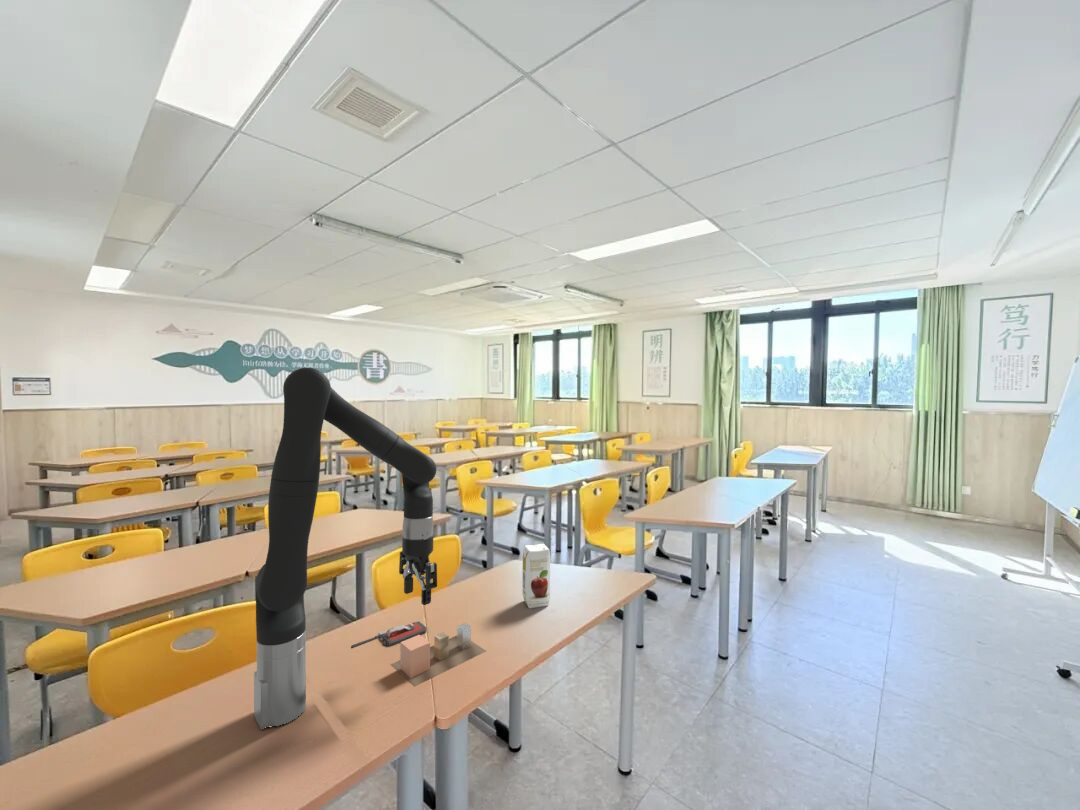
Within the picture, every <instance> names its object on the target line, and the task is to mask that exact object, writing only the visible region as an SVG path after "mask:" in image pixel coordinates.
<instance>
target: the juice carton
mask: <svg viewBox="0 0 1080 810" xmlns="http://www.w3.org/2000/svg"><path fill="white" fill-rule="evenodd" d="M521 583H522V589H521V590H522V591H521V592H522V596H523V597H522V598H523V601H524V603H525V604H526V606H527V607H528V609H534V608H535V609H536V608H541V607H542V608H543V607H549V605H550V600H551V553H550V548H549V547H548V546H546V544H544V543H539V544H538V543H537V544H532V545H531V544H529V545H526V544H525V545H524V547H523V552H522V581H521Z"/></svg>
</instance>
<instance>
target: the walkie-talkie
mask: <svg viewBox="0 0 1080 810" xmlns="http://www.w3.org/2000/svg"><path fill="white" fill-rule="evenodd" d="M427 630H428V629H427V626H425V625H424V624H423V623H422V622H421V621H414V622H409V624H406V625H403V624H402V625H398V626H395V627H391V628H388V629H386V630H383V631H379V632H378V635H375V636H374V637H371V638H368V639H365V640H362V641H360V642H357V643H355V644H352V645H351V646H350V649H354V648H356V647H360V646H362V645H365V644H367V643H370V642H373V641H375V640H378V639H379V640H380V642H382V645H384V647H387V646H388V647H393V646H396V645H398V644H400V642H402V641H405V640H407V639H410V638H412V637H415V636H417V635H421V636H422V635H423V634H426V633H427Z"/></svg>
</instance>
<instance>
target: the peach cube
mask: <svg viewBox="0 0 1080 810" xmlns="http://www.w3.org/2000/svg"><path fill="white" fill-rule="evenodd" d="M399 644H400V657H399V659H400V669H401V670H402V671H404V672H405V673H406V674H407V675H408V676H409V677H410V678H412V677H414V676H416V675H419V674H421V673H423V672H425V671H427V670H429V669H430V647H431V642H430V641H428V640H427V639H426V638H425V637H423V636H422V634H421V635H417V636H415V637H412V638H410V639H407V640H405V641H402V642H400V643H399Z"/></svg>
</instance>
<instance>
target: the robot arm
mask: <svg viewBox="0 0 1080 810" xmlns="http://www.w3.org/2000/svg"><path fill="white" fill-rule="evenodd" d="M282 385H283V386H282V387H283V388H282V392H283V393H282V394H283V424H282V433H281V437H280V441H279V444H278V448H277V451H276V454H275V456H274V457H275V458H274V461H273V465H272V471H271V475H270V476H271V477H270V485H269V492H268V503H267V504H268V507H267V509H268V516H267V517H268V518H267V519H268V548H267V549H268V550H267V554H266V558H265V559H266V560H265V563H264V564H263V565H262V566H261V568H260V570H259V571H258V572H257V575H256V579H255V629H256V630H255V631H256V632H255V633H256V671H254V673H253V716H254V718H255V721H256V722H257V725H258V727H259V729H260V731H263V730H265V729H264V728H265V727H269V726H277V727H279V726H278V725H281V726H283V725H282V724H284V725H287V724H288V722H289V723H291V722H293V721H295V720H296V719H297V718H299V717H300V716H301V715H302V714H303V713H304V711H305V710H306V707H305V706H306V705H307V704H306V702H307V701H306V700H307V695H306V694H307V693H306V692H307V691H306V688H307V687H306V685H307V682H306V681H307V678H306V677H307V676H306V675H307V670H306V669H307V668H306V667H307V666H306V665H307V662H306V661H307V660H306V658H307V653H306V651H307V649H306V648H307V645H306V643H307V639H306V638H307V637H306V636H307V632H306V630H307V629H306V624H307V623H306V619H307V617H306V611H305V599H304V598H305V597H304V595H305V592H306V590H307V587H308V586H307V585H308V548H309V547H308V545H309V539H310V533H311V529H312V525H313V521H314V520H313V519H314V516H315V515H314V514H315V510H316V505H317V504H316V503H317V499H318V498H317V497H318V491H319V483H320V474H321V471H320V470H321V453H322V451H321V449H322V448H321V446H322V445H321V444H322V443H321V441H322V438H321V437H322V429H323V425H324V422H327V423H329V424H331V425H332V426H334V427H335V428H336V429H338V430H340V431H341V432H342V433H343V434H345V435H346V436H348V437H349V438H350V439H351V440H352V441H354V442H355V443H356V444H358V445H359V446H361V447H362V448H363V449H365V450H366V451H367V452H369V454H372V455H373V456H374V457H376V458H378V459H379V460H381V461H382V462H384V463H385V464H389V465H390V466H391V467H393V468H395V470H397V471H398V472H399V473H401V477H402V478H401V481H402V488H403V495H404V496H403V497H404V500H403V520H402V529H401V530H402V533H401V534H402V543H401V544H402V546H401V551H400V552H399V566H398V568H399V569H398V572H399V575H402V579H403V593H404V594H406V595H408V594H411V593H413V591H414V576H415V577H416V581H417V582H418V583H420V586H421V601H420V604H421V605H423V606H426V605H429V604H431V602H432V589H435V588H437V587H438V564H437V562H430V558H429V557H430V555H431V554H432V553H433V551H434V525H435V523H434V516H433V514H434V509H433V508H434V499H433V495H432V492H431V490H430V482H431V481H432V480H433V479H434V478H435V476H436V474H437V465H436V463H435V460H433V459H432V458H431V457H430V456H429V455H427V454H426V453H424V452H423V451H421V450H420V449H418V448H416V447H415V446H413V445H411V444H410V443H408V441H405V440H404V439H403V438H402V437H401V436H400V435H398V434H397V433H396V432H394V431H393V430H391V429H390V428H389V427H387V426H386V425H384V424H383V423H381V422H380V421H378V420H377V419H375V418H373V417H372V416H370V415H368V414H366V413H365V412H363V411H362V410H360V409H358V408H357V407H355V406H354V405H353V404H351V403H349V402H348V401H347V400H346V399H344V398H343V397H342V396H341V395H340V394H339V393H338V392H337V391H336V390H335V389H334V388H333V387H332V386H331V383H330V380H329V379H328V377H327V375H326V374H325V373H323V372H322V371H320V370H319V369H317V368H313V367H301V368H297V369H295V370H294V371H292V372H290V374H288V376H286V378H285V380H284V382H283V384H282ZM304 709H305V710H304ZM302 712H303V713H302ZM301 713H302V714H301ZM298 716H299V717H298ZM294 719H295V720H294ZM292 720H293V721H292ZM290 721H291V722H290ZM286 723H287V724H286ZM262 729H263V730H262Z"/></svg>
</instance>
